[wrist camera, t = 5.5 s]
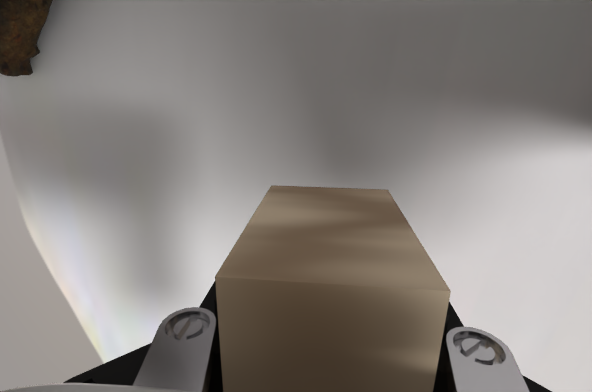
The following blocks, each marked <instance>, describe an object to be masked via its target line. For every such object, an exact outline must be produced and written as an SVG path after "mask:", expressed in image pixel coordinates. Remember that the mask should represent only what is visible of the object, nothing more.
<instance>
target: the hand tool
mask: <svg viewBox="0 0 592 392" xmlns="http://www.w3.org/2000/svg"><path fill="white" fill-rule="evenodd" d="M52 1H53V0H0V73H1V74H3V75H7V76H19V75H30V74H32V73H33V71H32V69H31V65H30V58H32V57H34V56H36V55H37V54H39V53H40V50H39V48H38V47H37V45H36V44H37V40H38V38H39V35H40V32H41V29H42V27H43V25H44V24H45V22H46V19H47V16H48V13H49V8H50V6H51V3H52Z"/></svg>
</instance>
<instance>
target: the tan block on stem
mask: <svg viewBox="0 0 592 392" xmlns="http://www.w3.org/2000/svg"><path fill="white" fill-rule="evenodd" d="M215 283H216V297H217V311H218V325H219V339H220V353H221V367H222V381H223V392H433V388H434V382H435V377H436V371H437V365H438V360H439V354H440V349H441V343H442V337H443V332H444V326H445V320H446V315H447V309H448V303H449V298H450V292H451V291H450V289H449V288H448V286H447V285H446V283H445V281H444V280H443V278H442V276H441V275H440V273H439V272H438V270H437V268H436V267H435V265H434V264H433V262H432V260H431V259H430V257H429V256H428V254H427V252H426V251H425V249H424V247H423V246H422V244H421V243H420V241H419V239H418V238H417V236H416V235H415V233H414V231H413V230H412V228H411V227H410V225H409V223H408V222H407V220H406V218H405V217H404V215H403V214H402V212H401V210H400V209H399V207H398V206H397V204H396V202H395V201H394V199H393V198H392V196H391V194H390V193H389V191H388V190H379V189H352V188H325V187H297V186H271V187H270V189H269V190H268V192H267V193H266V195H265V197H264V198H263V200H262V201H261V203H260V205H259V206H258V208H257V210H256V211H255V213H254V214H253V216H252V218H251V219H250V221H249V223H248V224H247V226H246V227H245V229H244V231H243V232H242V234H241V235H240V237H239V239H238V240H237V242H236V244H235V245H234V247H233V248H232V250H231V252H230V253H229V255H228V257H227V258H226V260H225V261H224V263H223V265H222V266H221V268H220V270H219V271H218V273H217V274H216V276H215Z"/></svg>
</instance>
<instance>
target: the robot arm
mask: <svg viewBox="0 0 592 392" xmlns="http://www.w3.org/2000/svg"><path fill="white" fill-rule="evenodd" d="M0 392H223V381H222V367H221V353H220V339H219V325H218V311H217V297H216V283H215V282H214V284H213V285H212V287H211V289H210V290H209V292H208V293H207V295H206V297H205V298H204V300H203V302H202V303H201V305H200V307H199V308H198V307H192V308H185V309H182V310H179V311H176V312H174V313H172V314H170V315H169V316H168V317H166V318H165V319H164V320H163V321H162V323H161V324H160V326H159V328H158V330H157V332H156V335H155V337H154V339H153V341H152V343H150V344H148V345H146V346H143V347H141V348H139V349H137V350H134V351H132V352H130V353H127V354H125V355H123V356H121V357H118V358H116V359H114V360H112V361H109V362H107V363H105V364H102V365H100V366H98V367H96V368H93V369H91V370H89V371H86V372H84V373H82V374H80V375H77V376H75V377H73V378H71V379H69V380H67V381H65V382H64V383H52V384H51V383H50V384H42V385H34V386H25V387H19V388H14V389H9V390H5V391H0ZM433 392H552V391H550V390H548V389H546V388H544V387H543V386H541V385H539V384H537V383H535V382H534V381H532V380H530V379H528V378H527V377H525V376H523V375H522V374H521V372H520V370H519V367H518V365H517V363H516V361H515V359H514V356H513V354H512V352H511V351H510V349H509V348H508V346H506V345H505V344H504V343H503V342H502V341H501V340H500V339H498V338H497V337H495V336H493V335H492V334H490V333H487V332H485V331H483V330H480V329H476V328H472V327H464V326H463V324H462V323H461V321H460V319H459V317H458V316H457V314H456V312H455V310H454V309H453V307H452V305H451V304H450V302H449V303H448V309H447V315H446V320H445V326H444V332H443V337H442V343H441V349H440V354H439V360H438V365H437V371H436V377H435V382H434V388H433Z"/></svg>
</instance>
